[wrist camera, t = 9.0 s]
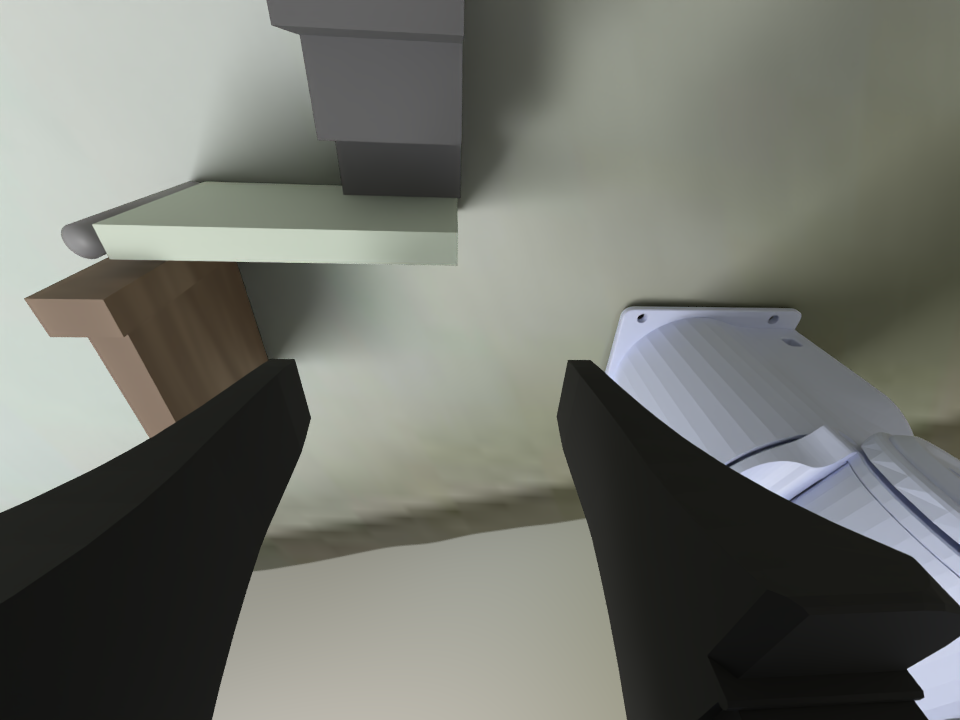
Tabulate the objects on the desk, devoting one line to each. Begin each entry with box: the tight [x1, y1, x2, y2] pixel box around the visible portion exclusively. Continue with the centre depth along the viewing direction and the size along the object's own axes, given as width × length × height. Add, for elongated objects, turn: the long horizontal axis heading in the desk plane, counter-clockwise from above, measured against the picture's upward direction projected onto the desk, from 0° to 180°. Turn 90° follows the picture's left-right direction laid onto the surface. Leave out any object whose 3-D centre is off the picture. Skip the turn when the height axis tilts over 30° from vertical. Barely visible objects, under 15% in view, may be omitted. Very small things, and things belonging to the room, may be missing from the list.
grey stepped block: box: [267, 0, 464, 198], centre depth 12 cm, size 7×4×6 cm, turn 178°
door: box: [61, 181, 458, 266], centre depth 14 cm, size 11×1×6 cm, turn 88°
